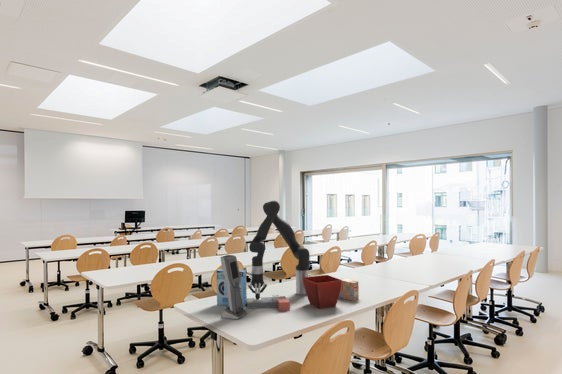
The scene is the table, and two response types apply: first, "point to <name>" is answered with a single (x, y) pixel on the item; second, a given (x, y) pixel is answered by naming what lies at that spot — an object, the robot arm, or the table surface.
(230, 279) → the thermal camera
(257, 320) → the table surface
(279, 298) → the block
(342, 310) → the table surface
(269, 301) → the breaker panel
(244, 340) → the table surface
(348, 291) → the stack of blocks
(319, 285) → the plant pot
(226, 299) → the gum box
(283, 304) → the cap
